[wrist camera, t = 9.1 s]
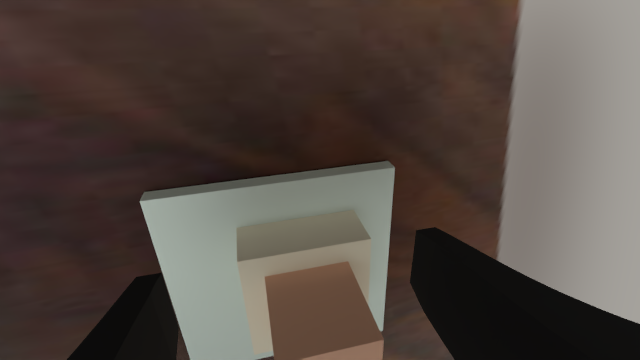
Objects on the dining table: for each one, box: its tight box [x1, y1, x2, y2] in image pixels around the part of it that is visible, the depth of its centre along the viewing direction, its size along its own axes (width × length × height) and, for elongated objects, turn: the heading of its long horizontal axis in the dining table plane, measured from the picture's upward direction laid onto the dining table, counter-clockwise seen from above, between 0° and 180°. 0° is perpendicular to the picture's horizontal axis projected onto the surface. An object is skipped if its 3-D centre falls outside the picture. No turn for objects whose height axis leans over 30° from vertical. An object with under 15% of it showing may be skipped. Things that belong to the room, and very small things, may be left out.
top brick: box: [265, 261, 384, 360], centre depth 17 cm, size 4×4×5 cm
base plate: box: [140, 161, 395, 360], centre depth 21 cm, size 14×14×4 cm
